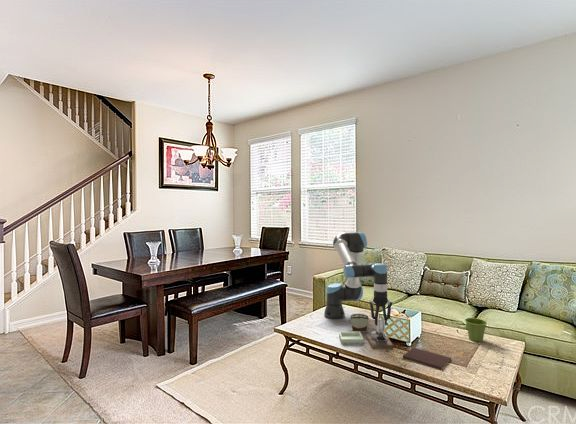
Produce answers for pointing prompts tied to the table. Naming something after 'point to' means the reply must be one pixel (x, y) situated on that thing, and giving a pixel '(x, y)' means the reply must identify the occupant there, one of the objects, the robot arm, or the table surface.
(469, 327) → the plant pot
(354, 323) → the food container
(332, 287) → the robot arm
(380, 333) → the pin
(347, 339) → the tray
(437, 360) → the notebook
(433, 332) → the table surface
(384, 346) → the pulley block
